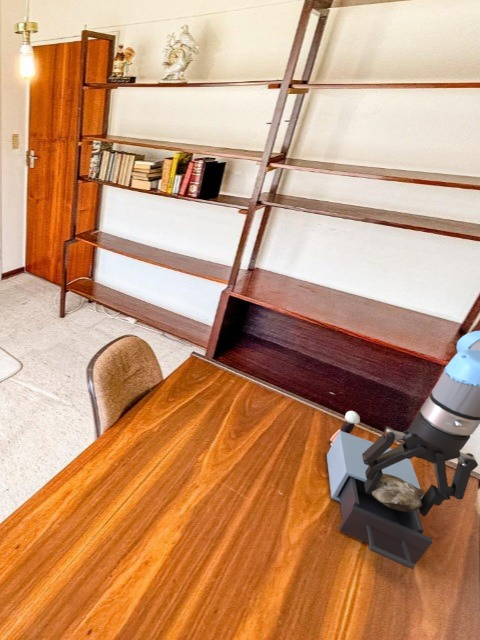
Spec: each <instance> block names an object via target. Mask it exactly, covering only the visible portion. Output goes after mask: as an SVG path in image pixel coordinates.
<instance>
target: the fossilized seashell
mask: <svg viewBox="0 0 480 640" xmlns="http://www.w3.org/2000/svg"><path fill="white" fill-rule="evenodd" d="M425 493H426V491H425V489H422V488H420V489H419V488H417V487H415V486H413V485H412V484H410V483H408V482H405V481H404V480H402V479H400V478H398V477H395V476H393V475H389V474H384V473H383V475H382V477H381V478H380V480H379V481H378V483H377V485H376V486H375V488H374V489H373V491H372V495H373V497H374V498H376V499H377V500H378V501H379V502H381V503H383V504H384V505H386V506H387V507H390V508H392V509H395V510H398V511H406V512H411V511H415V510H417V509H419V508H420V507H421V506H422V502H421V498H422V496H424V494H425Z"/></svg>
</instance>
